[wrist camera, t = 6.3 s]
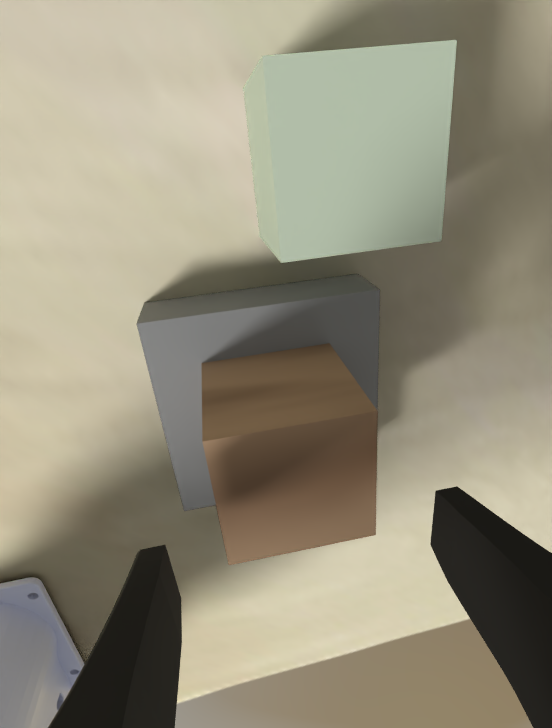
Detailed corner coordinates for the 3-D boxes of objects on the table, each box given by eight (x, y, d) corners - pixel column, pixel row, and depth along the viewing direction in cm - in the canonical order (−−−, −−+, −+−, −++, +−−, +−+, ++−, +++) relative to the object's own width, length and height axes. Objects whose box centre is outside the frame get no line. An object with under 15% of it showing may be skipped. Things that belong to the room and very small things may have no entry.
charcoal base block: (354, 437, 23) (376, 474, 20) (185, 467, 22) (184, 511, 19) (353, 271, 19) (379, 289, 16) (145, 298, 18) (136, 323, 15)
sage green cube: (379, 221, 17) (441, 241, 13) (259, 236, 17) (281, 263, 12) (381, 75, 15) (456, 39, 11) (242, 88, 15) (262, 55, 10)
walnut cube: (333, 445, 19) (375, 535, 14) (221, 466, 18) (228, 565, 14) (329, 343, 16) (377, 410, 12) (201, 362, 16) (202, 441, 12)
